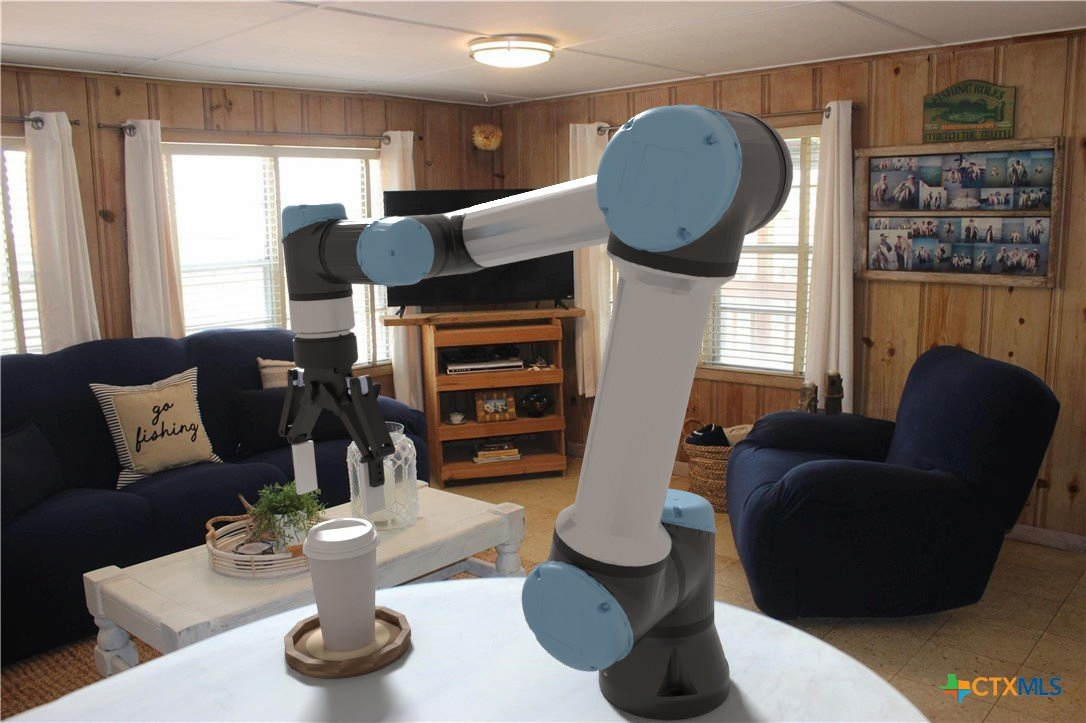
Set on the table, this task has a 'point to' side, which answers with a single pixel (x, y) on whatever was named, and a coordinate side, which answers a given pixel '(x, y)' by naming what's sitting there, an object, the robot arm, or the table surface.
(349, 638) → the coffee cup
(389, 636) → the polygonal wooden dish
